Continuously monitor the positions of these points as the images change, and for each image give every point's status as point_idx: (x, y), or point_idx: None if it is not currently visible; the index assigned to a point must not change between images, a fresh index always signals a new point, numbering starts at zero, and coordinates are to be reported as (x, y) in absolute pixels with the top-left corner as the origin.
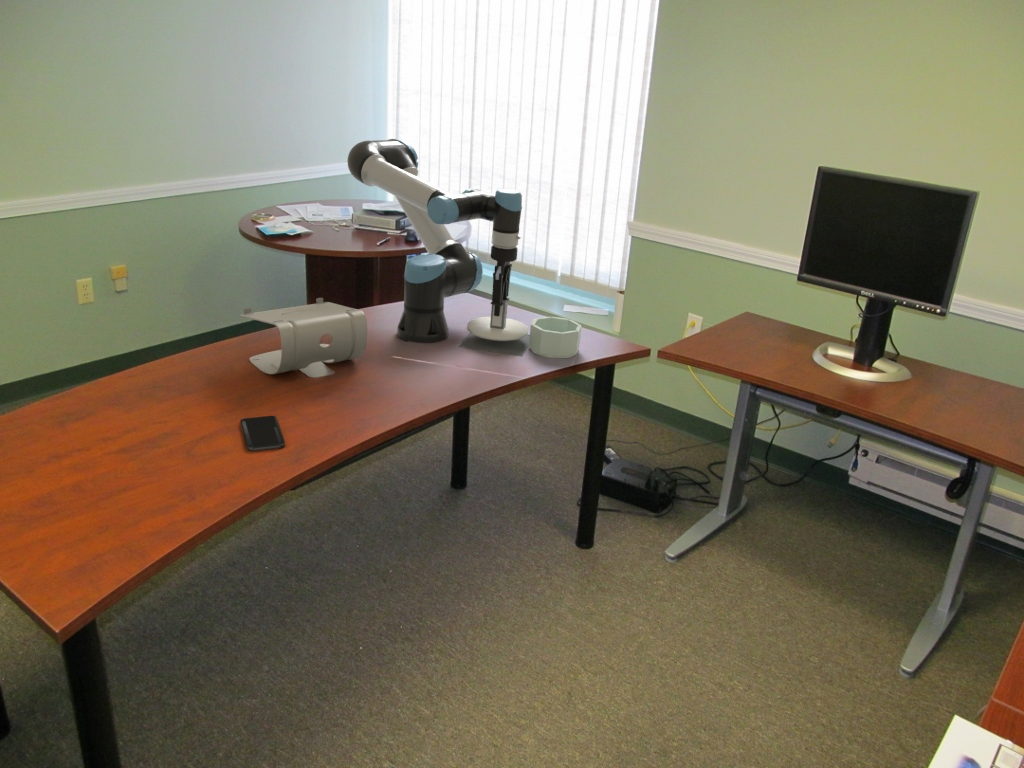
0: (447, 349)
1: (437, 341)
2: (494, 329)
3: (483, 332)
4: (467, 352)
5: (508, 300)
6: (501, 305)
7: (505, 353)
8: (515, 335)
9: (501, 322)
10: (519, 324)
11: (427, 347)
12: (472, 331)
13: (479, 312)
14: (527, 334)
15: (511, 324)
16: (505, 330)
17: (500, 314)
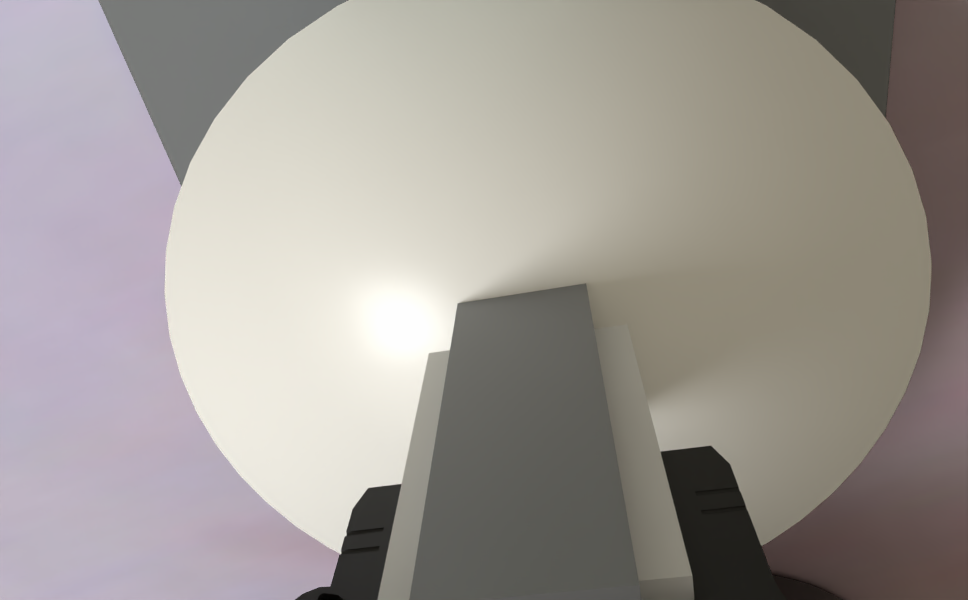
0: (923, 497)
1: (819, 594)
2: (653, 358)
3: (824, 410)
4: (941, 365)
5: (329, 594)
6: (753, 591)
7: (889, 42)
8: (738, 47)
9: (604, 357)
10: (263, 191)
11: (930, 597)
12: (815, 498)
13: (23, 597)
14: (143, 93)
15: (346, 272)
16: (609, 245)
17: (657, 454)
